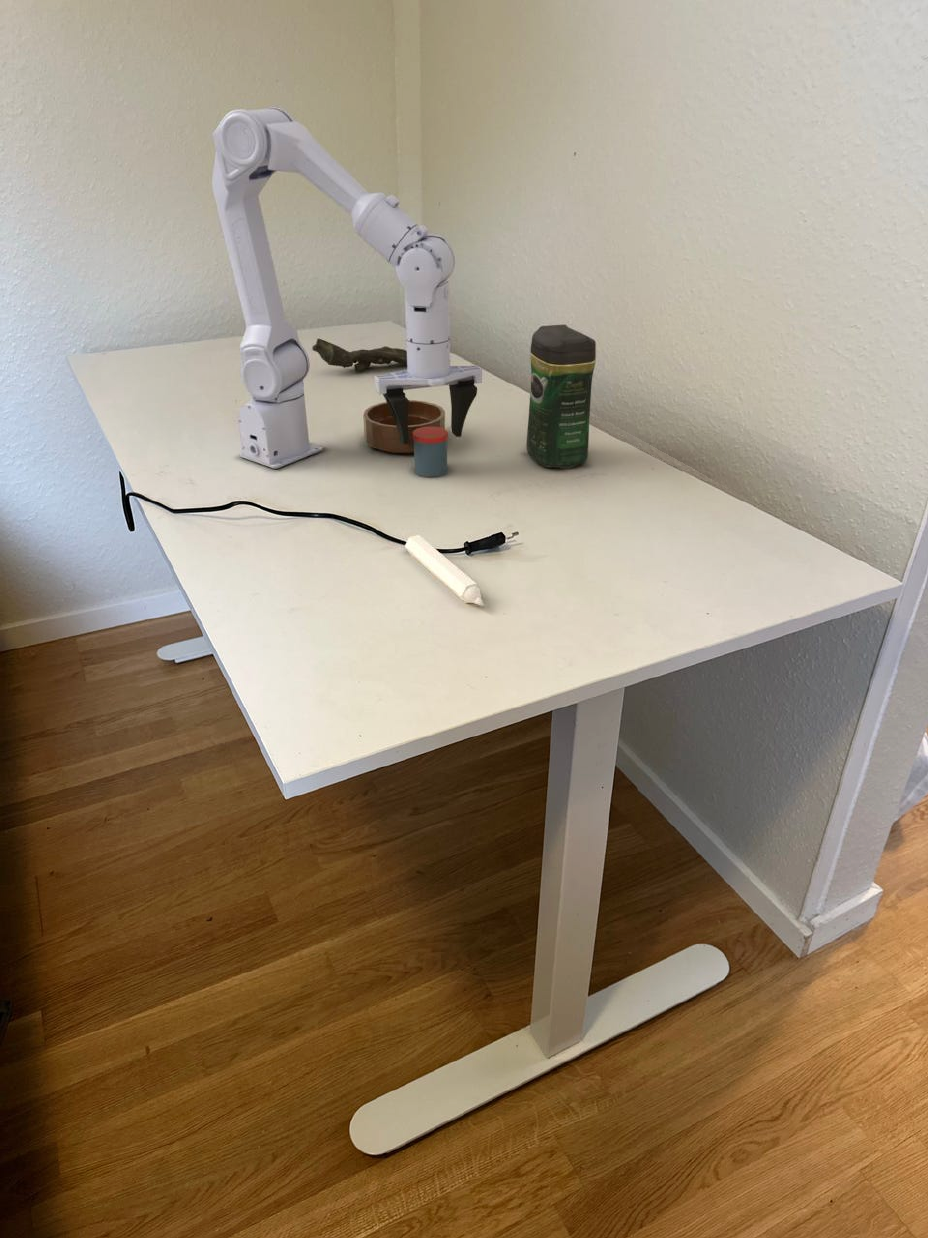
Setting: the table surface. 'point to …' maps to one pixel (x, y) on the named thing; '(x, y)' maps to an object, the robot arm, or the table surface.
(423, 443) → the container
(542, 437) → the coffee jar
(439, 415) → the bowl
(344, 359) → the brown long irregular piece
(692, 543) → the table surface
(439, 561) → the marker
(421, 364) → the robot arm
